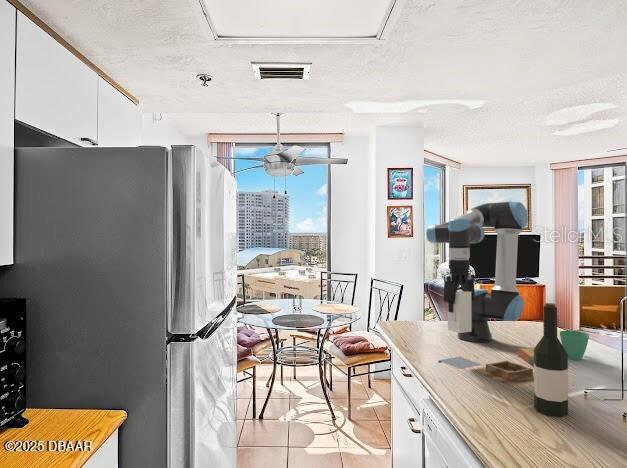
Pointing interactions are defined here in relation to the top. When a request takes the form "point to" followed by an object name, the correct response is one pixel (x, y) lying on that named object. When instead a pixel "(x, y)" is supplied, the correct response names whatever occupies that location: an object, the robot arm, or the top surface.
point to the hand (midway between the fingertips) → (459, 319)
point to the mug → (574, 343)
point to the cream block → (461, 313)
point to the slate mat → (459, 362)
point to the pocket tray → (507, 373)
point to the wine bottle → (550, 369)
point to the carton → (527, 355)
